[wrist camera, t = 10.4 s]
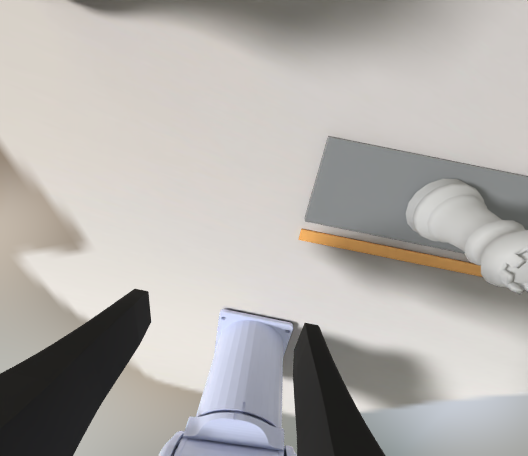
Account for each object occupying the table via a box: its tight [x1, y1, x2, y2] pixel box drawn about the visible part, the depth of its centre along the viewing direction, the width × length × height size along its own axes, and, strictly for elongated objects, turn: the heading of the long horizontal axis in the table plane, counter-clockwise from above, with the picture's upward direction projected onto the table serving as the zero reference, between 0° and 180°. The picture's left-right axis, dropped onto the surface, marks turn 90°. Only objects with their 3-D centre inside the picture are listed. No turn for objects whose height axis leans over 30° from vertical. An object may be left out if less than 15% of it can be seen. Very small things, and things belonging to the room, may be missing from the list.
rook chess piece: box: [406, 179, 528, 294], centre depth 13 cm, size 4×4×8 cm
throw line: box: [299, 229, 483, 277], centre depth 20 cm, size 1×20×1 cm, turn 80°
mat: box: [305, 136, 528, 254], centre depth 17 cm, size 6×20×1 cm, turn 80°
